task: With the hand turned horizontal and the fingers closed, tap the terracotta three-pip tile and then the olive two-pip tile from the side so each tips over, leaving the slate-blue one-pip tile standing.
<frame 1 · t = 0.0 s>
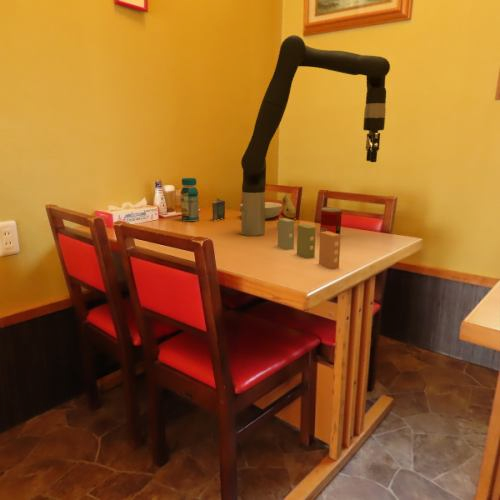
hand: (371, 161, 157), 29 cm above the table, tool pointing down, fingers open, 8 cm apart
yellow pear: (288, 229, 179), on the table
digit tile 2: (305, 255, 136), on the table
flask: (218, 220, 200), on the table
serving bowl: (260, 218, 204), on the table
beverage bottle: (190, 220, 197), on the table
digit tile 3: (328, 265, 125), on the table
canned food: (330, 236, 166), on the table
digit tile 1: (285, 247, 147), on the table
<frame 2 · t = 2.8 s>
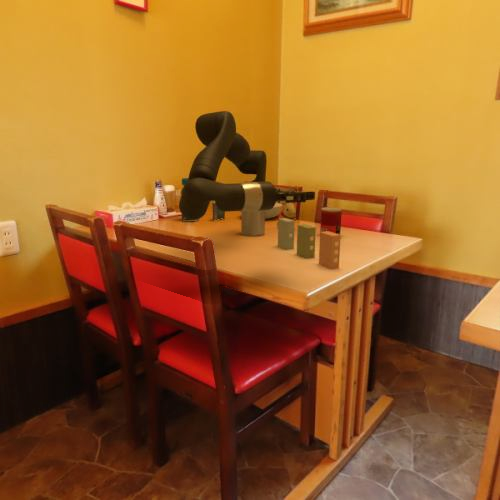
hand: (305, 194, 115), 22 cm above the table, tool horizontal, fingers open, 8 cm apart
nothing on the table moved.
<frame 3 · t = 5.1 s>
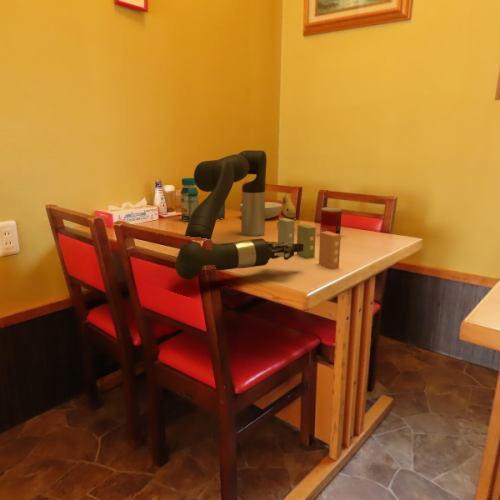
hand: (301, 247, 119), 7 cm above the table, tool horizontal, fingers closed
nothing on the table moved.
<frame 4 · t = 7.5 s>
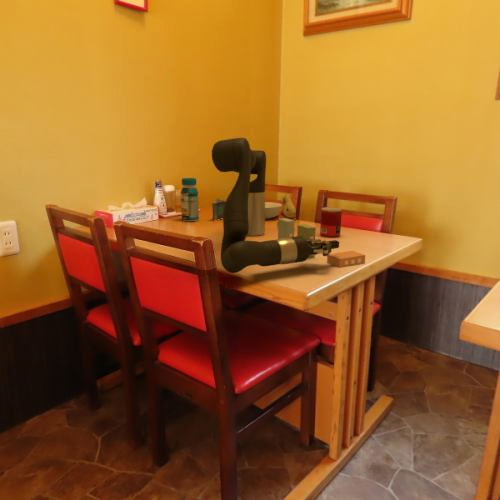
hand: (337, 243, 125), 6 cm above the table, tool horizontal, fingers closed
digit tile 3: (333, 261, 126), point 1 cm above the table, tilted 90°
everything else where it was.
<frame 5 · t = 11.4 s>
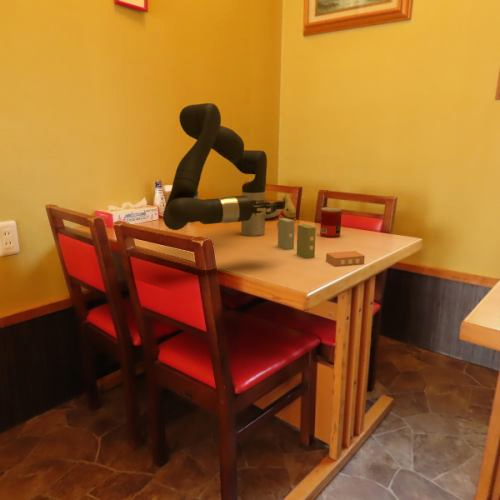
hand: (283, 204, 127), 18 cm above the table, tool horizontal, fingers closed
digit tile 3: (330, 260, 127), point 1 cm above the table, tilted 90°
everything else where it was.
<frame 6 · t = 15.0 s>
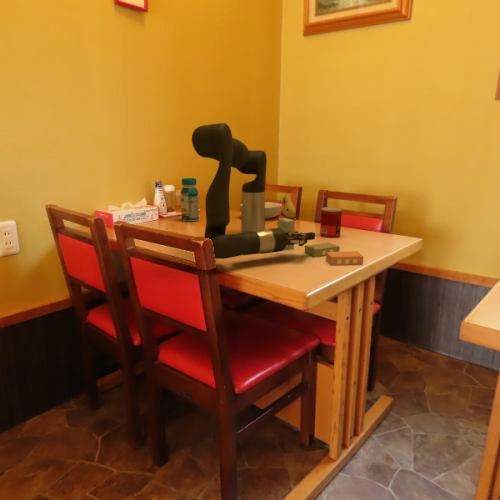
hand: (313, 235, 136), 6 cm above the table, tool horizontal, fingers closed
digit tile 2: (309, 251, 137), point 1 cm above the table, tilted 90°
digit tile 3: (328, 259, 128), point 1 cm above the table, tilted 90°
everything else where it was.
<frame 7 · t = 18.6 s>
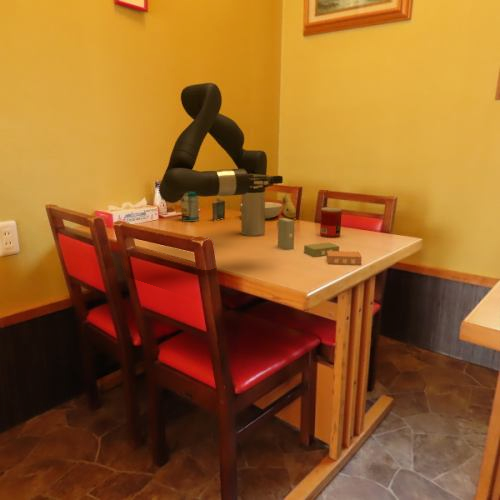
hand: (281, 179, 125), 25 cm above the table, tool horizontal, fingers closed
digit tile 3: (327, 257, 130), point 1 cm above the table, tilted 90°
everything else where it was.
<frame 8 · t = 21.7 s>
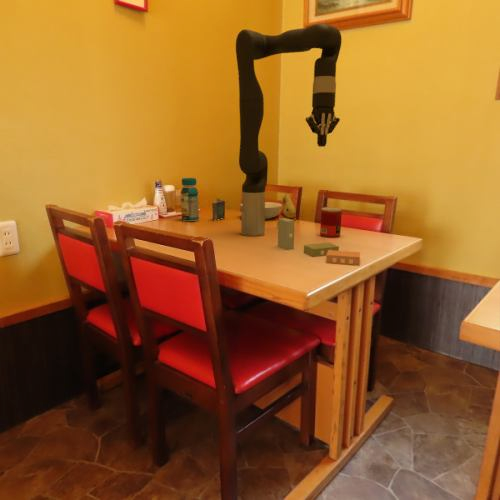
hand: (321, 146, 140), 35 cm above the table, tool pointing down, fingers closed
digit tile 3: (327, 256, 131), point 1 cm above the table, tilted 90°
everything else where it was.
at the end: digit tile 3 tilted 90°; digit tile 2 tilted 90°; digit tile 1 tilted 0° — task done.
